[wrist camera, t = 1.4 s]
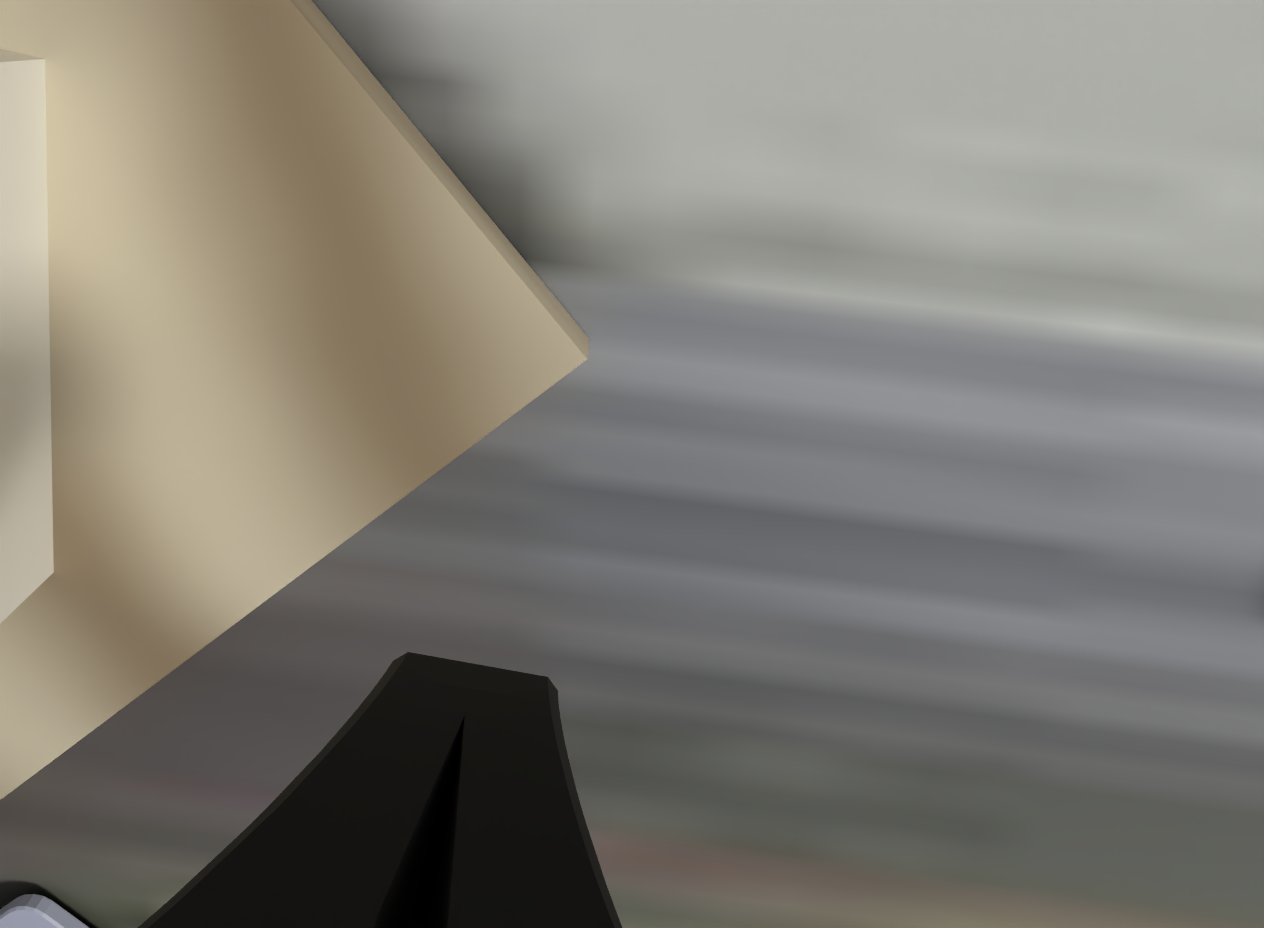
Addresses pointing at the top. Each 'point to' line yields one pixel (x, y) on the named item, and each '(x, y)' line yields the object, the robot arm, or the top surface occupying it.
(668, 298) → the top surface
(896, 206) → the top surface
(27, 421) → the tile
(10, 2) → the board
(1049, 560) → the top surface
